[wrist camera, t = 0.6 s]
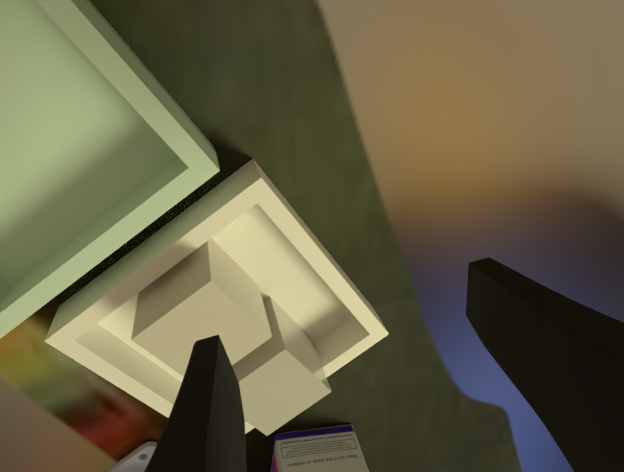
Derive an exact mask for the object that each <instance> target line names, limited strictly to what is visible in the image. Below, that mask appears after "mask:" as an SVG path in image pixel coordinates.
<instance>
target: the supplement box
mask: <svg viewBox="0 0 624 472" xmlns="http://www.w3.org/2000/svg"><path fill="white" fill-rule="evenodd" d="M270 472H369V470H368V468H367V465H366V462H365V459H364V457H363V454H362V451H361V448H360V446H359V443H358V440H357V437H356V434H355V432H354V428H353V425H352V424H350V425H340V426H333V427H325V428H318V429H310V430H300V431H293V432H284V433H278V434H276V435H275V437H274V450H273V457H272V464H271V470H270Z"/></svg>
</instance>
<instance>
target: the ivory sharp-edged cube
mask: <svg viewBox="0 0 624 472" xmlns="http://www.w3.org/2000/svg"><path fill="white" fill-rule="evenodd" d="M215 335H219V336H220V339H221V341H222V343H223V346H224V348H225V351H226V353H227V355H228V358H229V360H230V363H231V365H233V364H235V363H236V362H238V361H239V360H240V359H242V358H243V357H245V356H246V355H247V354H249V353H250V352H252V351H253V350H254V349H256V348H257V347H259V346H260V345H261V344H263V343H264V342H266V341H267V340H268V339H270V338H271V337H272V334H271V330H270V326H269V323H268V319H267V315H266V311H265V307H264V303H263V300H262V296H261V292H260V288H259V285H258V284H257V283H256V282H255V281H254V280H253V279H252V278H251V277H250V276H249V275H248V274H247V273H246V272H245V271H244V270H243V269H242V268H241V267H240V266H239V265H238V264H237V263H236V262H235V261H234V260H233V259H232V258H231V257H230V256H229V255H228V254H227V253H226V252H225V251H224V250H223V249H222V248H221V247H220V246H219V245H218V244H217V243H216V242H215V241H214V240H213V239H212V238H210V239H209V240H208V241H206V242H205V243H204V244H202V245H201V246H200V247H198V248H197V249H196V250H194V251H193V252H192V253H190V254H189V255H188V256H186V257H185V258H184V259H182V260H181V261H180V262H178V263H177V264H176V265H174V266H173V267H172V268H170V269H169V270H168V271H166V272H165V273H164V274H162V275H161V276H160V277H158V278H157V279H156V280H154V281H153V282H152V283H150V284H149V285H148V286H146V287H145V288H144V289H142V290H141V291H140V292H139V293H138V300H137V306H136V312H135V318H134V325H133V331H132V337H131V340H132V341H134V342H135V343H136V344H138V345H139V346H141V347H142V348H143V349H145V350H146V351H148V352H149V353H150V354H152V355H153V356H155V357H156V358H158V359H159V360H160V361H162V362H163V363H165V364H166V365H167V366H169V367H170V368H172V369H173V370H174V371H176V372H177V373H179V374H180V375H182V376H183V377H184V375H185V372H186V369H187V366H188V362H189V359H190V356H191V352H192V349H193V345H194V344H195V342H196V341H198V340H201V339H205V338H208V337H212V336H215Z"/></svg>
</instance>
